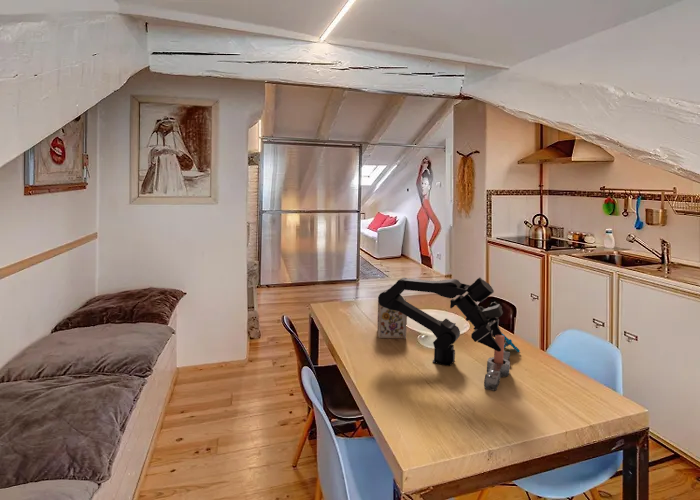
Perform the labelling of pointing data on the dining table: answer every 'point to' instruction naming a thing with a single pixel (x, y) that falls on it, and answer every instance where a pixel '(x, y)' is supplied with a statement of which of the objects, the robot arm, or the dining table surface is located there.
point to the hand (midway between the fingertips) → (502, 346)
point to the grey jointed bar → (496, 372)
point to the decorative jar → (391, 323)
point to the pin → (499, 355)
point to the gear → (509, 343)
